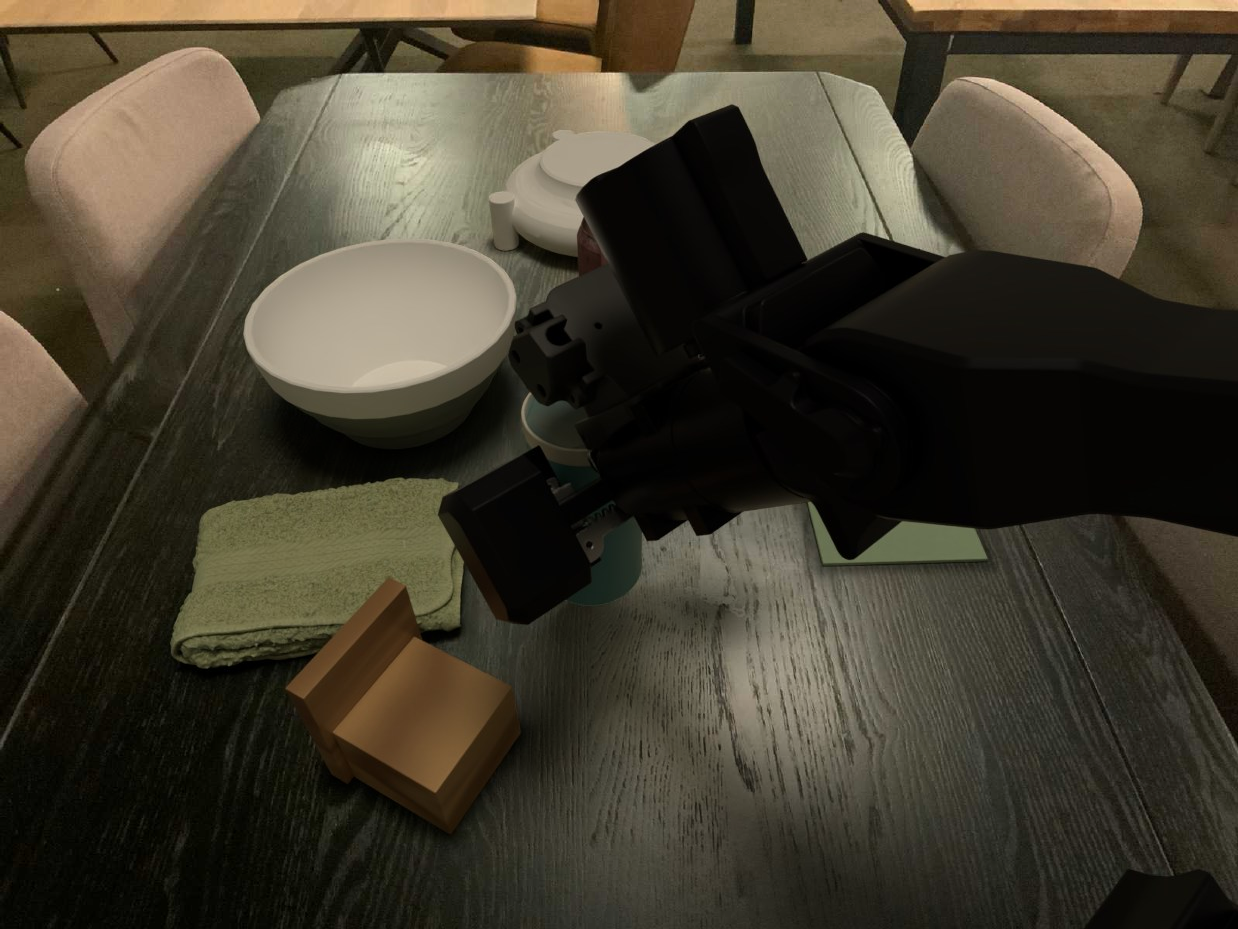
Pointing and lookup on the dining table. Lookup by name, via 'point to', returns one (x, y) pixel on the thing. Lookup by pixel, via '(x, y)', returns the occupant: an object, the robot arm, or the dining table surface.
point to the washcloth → (314, 569)
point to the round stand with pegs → (556, 188)
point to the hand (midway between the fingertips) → (572, 482)
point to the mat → (905, 545)
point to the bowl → (385, 337)
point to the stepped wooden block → (404, 712)
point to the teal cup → (571, 466)
